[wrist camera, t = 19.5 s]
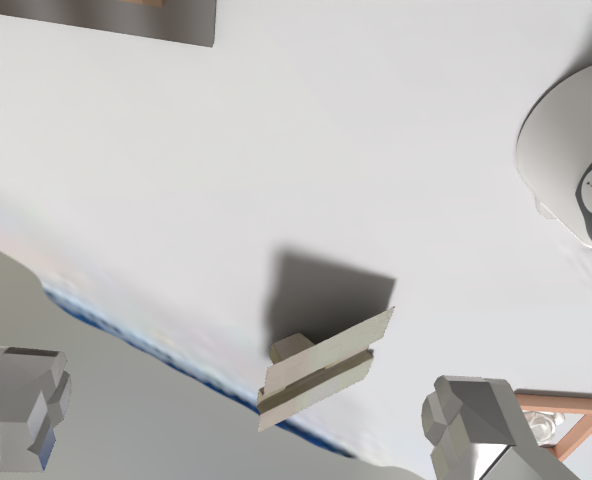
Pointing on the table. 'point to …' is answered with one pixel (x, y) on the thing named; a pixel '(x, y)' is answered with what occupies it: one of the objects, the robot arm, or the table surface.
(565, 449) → the orange square frame
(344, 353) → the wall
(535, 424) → the rose
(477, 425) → the robot arm
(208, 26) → the well box
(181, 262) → the table surface
